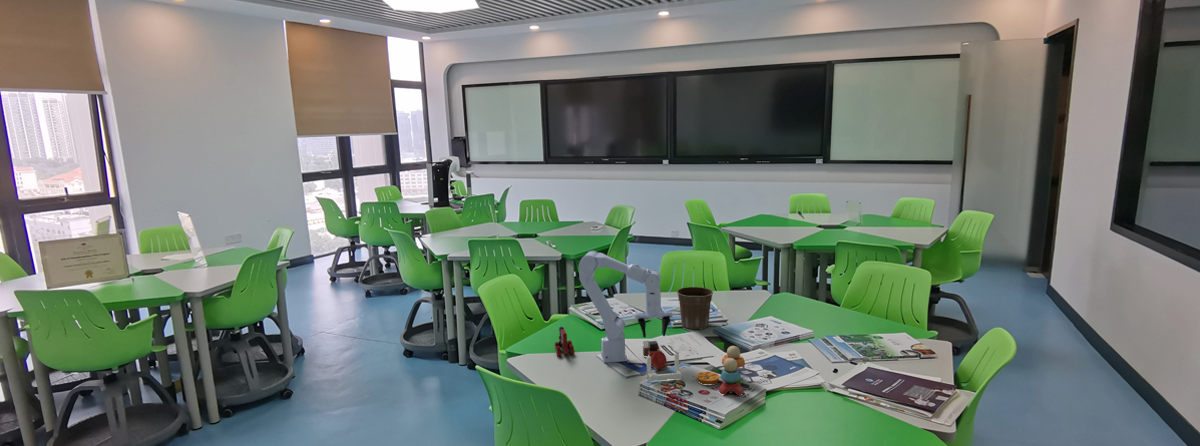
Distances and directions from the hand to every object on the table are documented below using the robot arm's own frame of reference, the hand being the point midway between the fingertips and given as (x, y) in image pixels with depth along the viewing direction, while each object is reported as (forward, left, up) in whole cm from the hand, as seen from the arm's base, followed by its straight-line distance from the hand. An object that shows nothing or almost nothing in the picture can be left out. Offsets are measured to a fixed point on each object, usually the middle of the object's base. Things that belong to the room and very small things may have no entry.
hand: (654, 336), depth 229 cm
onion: (0, -9, -10) cm, 13 cm away
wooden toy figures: (+18, -28, -10) cm, 35 cm away
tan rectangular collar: (0, +4, -10) cm, 11 cm away
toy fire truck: (-34, +16, -10) cm, 39 cm away
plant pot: (+27, +36, -10) cm, 46 cm away
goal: (0, -18, -10) cm, 20 cm away
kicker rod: (0, +5, -10) cm, 11 cm away
